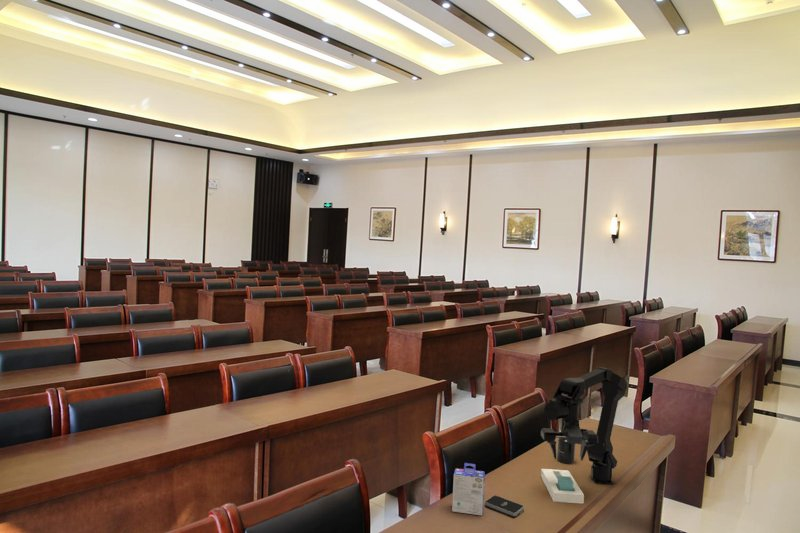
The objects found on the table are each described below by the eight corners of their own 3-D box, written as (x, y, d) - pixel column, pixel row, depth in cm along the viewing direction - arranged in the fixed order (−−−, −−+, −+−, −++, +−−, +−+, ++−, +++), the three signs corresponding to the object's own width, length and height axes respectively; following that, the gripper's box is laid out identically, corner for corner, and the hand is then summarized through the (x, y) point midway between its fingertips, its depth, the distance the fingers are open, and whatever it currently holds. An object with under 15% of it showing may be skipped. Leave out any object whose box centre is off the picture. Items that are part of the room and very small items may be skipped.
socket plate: (568, 478, 192) (568, 470, 192) (583, 503, 172) (584, 494, 172) (541, 476, 192) (541, 468, 192) (553, 501, 172) (553, 492, 172)
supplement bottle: (556, 462, 207) (557, 432, 207) (557, 456, 213) (559, 428, 213) (573, 465, 204) (575, 435, 204) (574, 459, 211) (576, 430, 211)
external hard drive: (514, 519, 160) (514, 513, 160) (483, 507, 167) (483, 501, 167) (524, 512, 165) (524, 506, 165) (494, 500, 172) (494, 494, 172)
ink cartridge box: (483, 508, 166) (485, 464, 165) (482, 516, 160) (485, 470, 160) (453, 504, 168) (455, 460, 167) (451, 512, 162) (453, 466, 162)
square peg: (569, 493, 179) (570, 476, 179) (572, 499, 175) (573, 481, 175) (557, 492, 179) (557, 475, 179) (560, 498, 175) (560, 481, 175)
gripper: (548, 422, 173) (546, 467, 173) (604, 424, 172) (602, 470, 172) (541, 411, 184) (539, 454, 184) (593, 414, 183) (592, 457, 183)
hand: (568, 459), depth 181 cm, fingers open, 9 cm apart
